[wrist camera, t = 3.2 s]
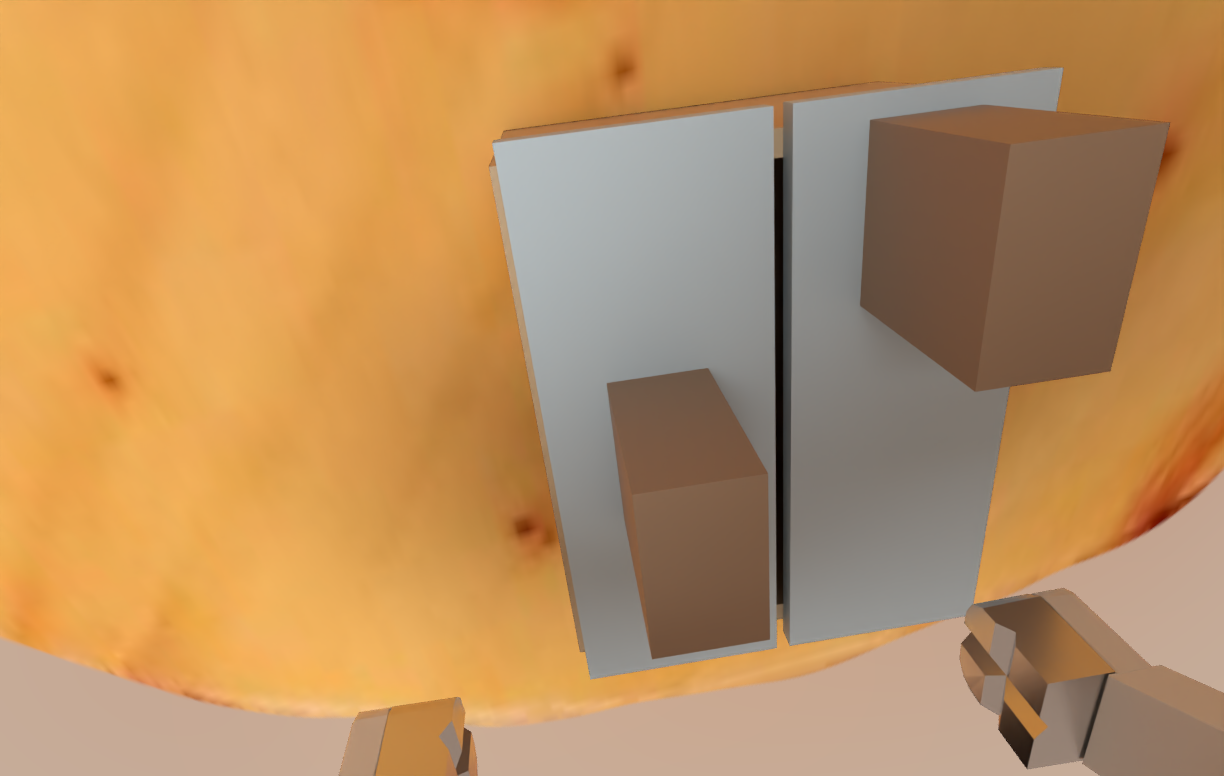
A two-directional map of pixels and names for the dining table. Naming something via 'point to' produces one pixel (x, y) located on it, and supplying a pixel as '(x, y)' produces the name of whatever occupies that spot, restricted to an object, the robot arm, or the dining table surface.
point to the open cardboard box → (778, 275)
